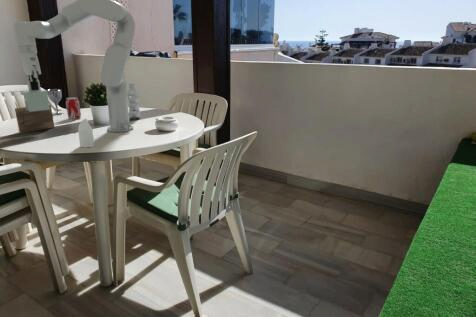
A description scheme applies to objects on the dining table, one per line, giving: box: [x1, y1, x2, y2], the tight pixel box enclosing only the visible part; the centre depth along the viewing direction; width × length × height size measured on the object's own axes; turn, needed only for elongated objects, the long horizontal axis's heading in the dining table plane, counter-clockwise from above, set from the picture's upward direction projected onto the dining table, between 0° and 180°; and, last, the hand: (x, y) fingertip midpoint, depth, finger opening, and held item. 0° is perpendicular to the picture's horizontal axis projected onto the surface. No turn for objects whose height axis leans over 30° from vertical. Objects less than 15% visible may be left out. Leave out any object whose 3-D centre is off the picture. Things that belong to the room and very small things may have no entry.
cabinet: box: [22, 79, 50, 112], centre depth 171 cm, size 5×9×14 cm, turn 136°
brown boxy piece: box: [14, 103, 56, 134], centre depth 180 cm, size 11×16×12 cm
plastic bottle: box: [127, 83, 141, 120], centre depth 205 cm, size 6×7×20 cm
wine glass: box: [46, 88, 65, 116], centre depth 218 cm, size 8×8×15 cm
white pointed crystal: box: [77, 118, 95, 149], centre depth 151 cm, size 6×12×6 cm
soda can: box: [65, 96, 82, 120], centre depth 206 cm, size 7×7×12 cm
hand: (34, 89), depth 170 cm, fingers closed on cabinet, 1 cm apart
